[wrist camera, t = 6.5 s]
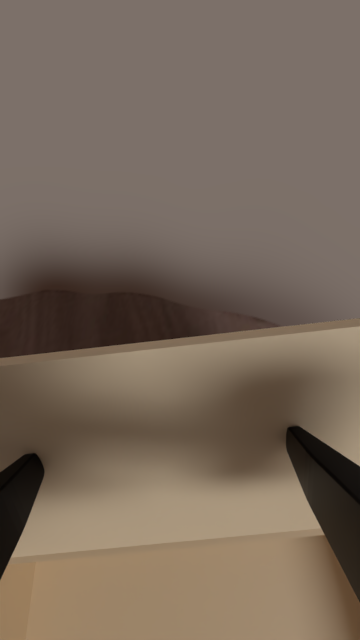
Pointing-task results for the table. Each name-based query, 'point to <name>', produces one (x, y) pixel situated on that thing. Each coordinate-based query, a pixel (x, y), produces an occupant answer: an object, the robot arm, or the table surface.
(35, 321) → the table surface
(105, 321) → the table surface
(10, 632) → the carton
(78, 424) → the carton flap
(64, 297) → the table surface
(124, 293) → the table surface
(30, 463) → the robot arm
